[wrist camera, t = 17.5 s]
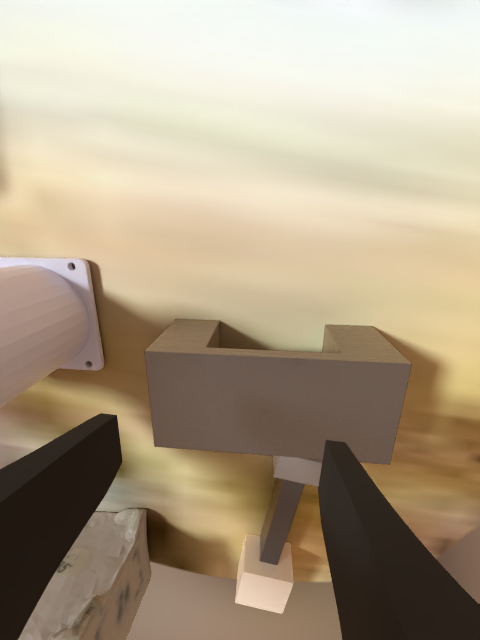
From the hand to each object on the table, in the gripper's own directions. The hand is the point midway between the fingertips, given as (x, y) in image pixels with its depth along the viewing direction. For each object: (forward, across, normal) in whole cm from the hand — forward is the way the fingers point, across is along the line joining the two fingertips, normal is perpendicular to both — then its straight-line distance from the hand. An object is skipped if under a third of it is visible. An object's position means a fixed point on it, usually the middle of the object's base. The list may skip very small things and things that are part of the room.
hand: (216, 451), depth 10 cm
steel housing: (+10, -2, +2) cm, 11 cm away
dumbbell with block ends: (+11, -3, +15) cm, 19 cm away
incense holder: (+10, +13, +20) cm, 26 cm away
